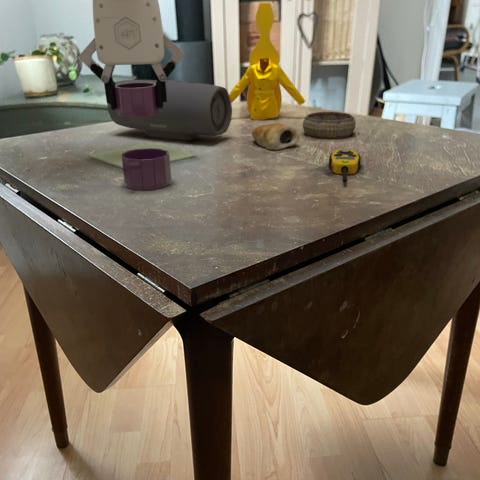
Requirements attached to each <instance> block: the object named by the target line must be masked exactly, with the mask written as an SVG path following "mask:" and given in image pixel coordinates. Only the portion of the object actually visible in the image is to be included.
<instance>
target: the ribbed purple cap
mask: <svg viewBox="0 0 480 480" xmlns="http://www.w3.org/2000/svg"><path fill="white" fill-rule="evenodd" d="M121 156H122V164H123V170H122V171H123V179H124V180H123V181H124V186H125V187H126V188H128V189H130V190H134V191H154V190H159V189H164V188H166V187H168V186H170V185H171V184H172V171H171V169H172V168H171V162H170V157H169V152H168V151H166V150H163V149H155V148H145V149H135V150H130V151H127V152H125V153H123V154H121Z"/></svg>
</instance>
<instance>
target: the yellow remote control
mask: <svg viewBox="0 0 480 480" xmlns="http://www.w3.org/2000/svg"><path fill="white" fill-rule="evenodd" d="M361 162H362V158H361V155H360V153H358V152H357V151H356V150H353V149H337V150H334V151H333V152H331V153H330V154H329V157H328V168H329V170H331V171H332V172H333V173H335V174H336V175H342V183H347V181H348V175H354V174H356V173H357V172H358V171H359V170H360V168H361Z"/></svg>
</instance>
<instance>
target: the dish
mask: <svg viewBox="0 0 480 480" xmlns="http://www.w3.org/2000/svg"><path fill="white" fill-rule="evenodd" d="M114 88H115V95H116V103H117V111H118V115H120V116H124V117H143V116H150V115H155V114H157V113H159V108H158V101H157V91H156V84H155V83H145V82H138V83H125V84H118V85H115V86H114Z"/></svg>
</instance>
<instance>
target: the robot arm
mask: <svg viewBox="0 0 480 480" xmlns="http://www.w3.org/2000/svg"><path fill="white" fill-rule="evenodd" d="M92 20H93V31H94V32H93V34H94V38H93V39H92V40H91V41H90V42H89V43H88V44H87V46H86V47H85V48H84V49H83V50H82V51H81V52H80V54H79V56H78V58H79V60H80V61H81V62H82V63H83V64H84V65H85V66H86V67H87V68H88V69H89V70H90V71H91V72H92V73H93V74H94V75H95V76H96V77H97V78H98V79H99V80H101V82H102V83H103V85H104V92H105V93H104V94H105V101H106V104H107V105H108V104H111V110H115V109H117V103H116V95H115V88H114V86H115V82H116V81H115V80H114V78H113V75H114V74H113V73H114V70H115V68H116V66H128V65H129V66H130V65H131V66H132V65H133V66H135V65H136V66H137V65H150V66H151V67H152V69H153V71H154V73H155V75H156V80H157V81H156V91H157V101H158V108H159V109H160V108H163V102H167V93H166V81H165V80H168V78H169V76H170V75H171V74H172V73H173V72H174V70H175V69H176V67H177V66H178V65H179V63H180V62H181V60H182V58H184V54H185V53H184V51H183V50H182V49H181V48H180V47H179V46H178V45H176V44H175V43H174V42H173V41H172V40H171V39H170V38H169V37H168V36H167V35H165V34H164V29H163V27H164V26H163V22H162V20H163V19H162V14H161V9H160V3H159V0H92ZM165 50H168V51H169V52H170V53H171V54H172V57H171V58H170V59H169V60H168V63H166V65H165V66H163V64H162V62H161V61H162V60H163V59H164V58H165V53H166V51H165ZM95 52H96V56H97V60H98V61H99V62H100V63H101V64H103V65H104V67H102V66H101V65H100V64H99V63H97V62H96V61H95V60H94V59H93V55H94V54H95Z"/></svg>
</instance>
